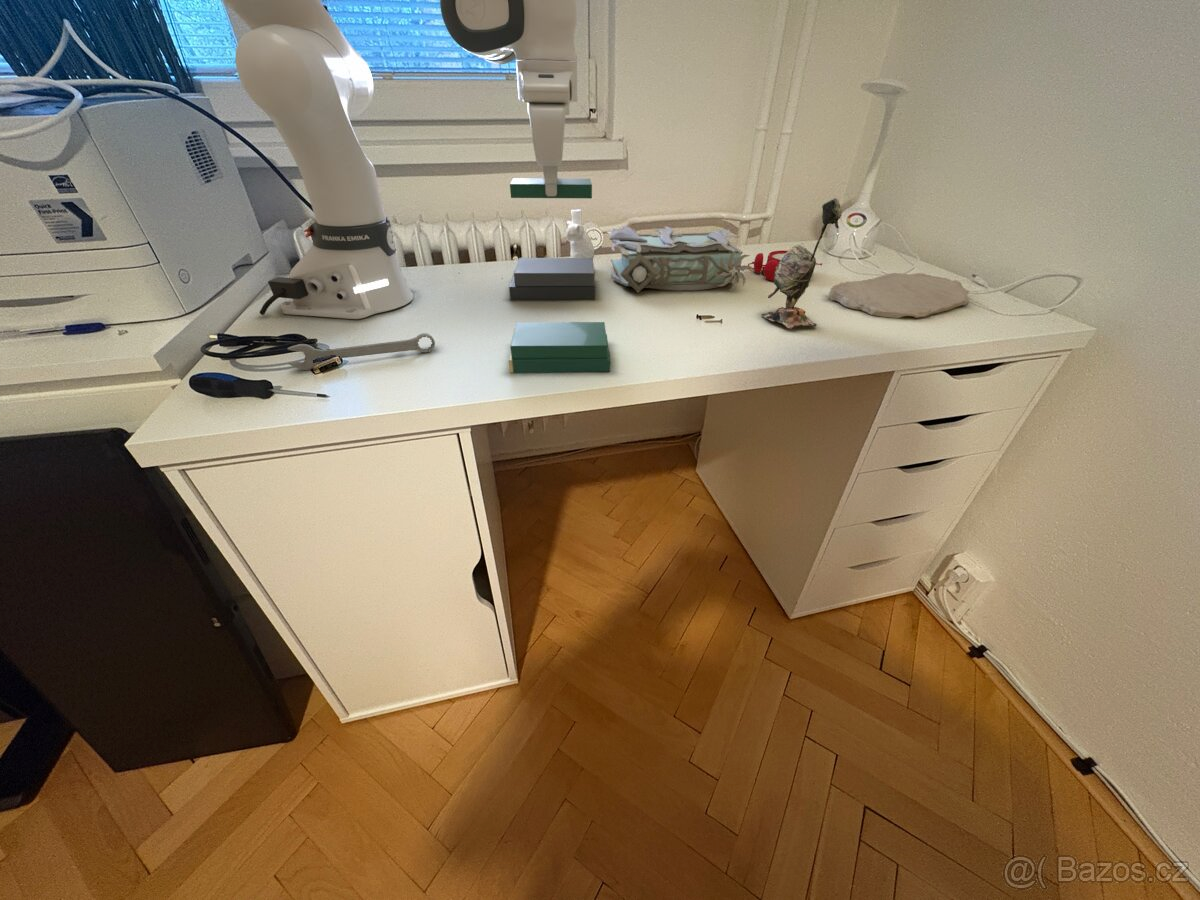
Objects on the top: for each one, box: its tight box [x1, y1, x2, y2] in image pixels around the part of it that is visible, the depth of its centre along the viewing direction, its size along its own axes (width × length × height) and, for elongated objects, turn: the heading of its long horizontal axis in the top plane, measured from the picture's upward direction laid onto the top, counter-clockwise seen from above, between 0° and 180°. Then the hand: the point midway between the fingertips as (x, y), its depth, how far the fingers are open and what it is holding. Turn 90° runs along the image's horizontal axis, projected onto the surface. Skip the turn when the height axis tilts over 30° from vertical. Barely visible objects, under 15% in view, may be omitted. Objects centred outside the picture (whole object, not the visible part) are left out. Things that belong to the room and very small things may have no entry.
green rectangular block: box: [508, 321, 611, 374], centre depth 72 cm, size 14×9×4 cm, turn 93°
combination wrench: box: [287, 332, 436, 371], centre depth 71 cm, size 4×1×20 cm
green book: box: [509, 177, 593, 199], centre depth 79 cm, size 13×6×2 cm, turn 93°
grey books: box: [508, 257, 596, 301], centre depth 96 cm, size 16×11×5 cm
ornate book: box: [606, 225, 753, 293], centre depth 103 cm, size 23×10×30 cm
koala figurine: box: [564, 208, 595, 259], centre depth 106 cm, size 8×7×12 cm
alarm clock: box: [747, 249, 823, 282], centre depth 106 cm, size 10×6×15 cm
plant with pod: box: [761, 197, 843, 329], centre depth 81 cm, size 8×11×20 cm
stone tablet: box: [828, 272, 970, 319], centre depth 95 cm, size 16×30×2 cm, turn 115°
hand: (551, 191), depth 80 cm, fingers closed on green book, 6 cm apart
